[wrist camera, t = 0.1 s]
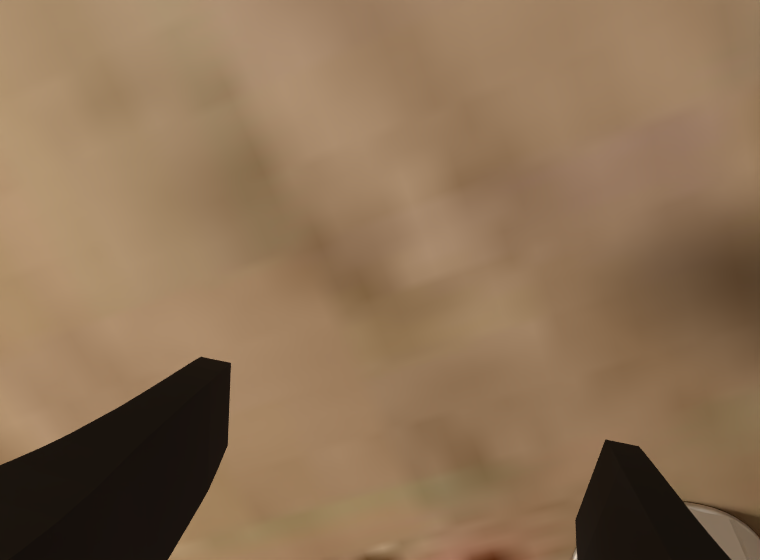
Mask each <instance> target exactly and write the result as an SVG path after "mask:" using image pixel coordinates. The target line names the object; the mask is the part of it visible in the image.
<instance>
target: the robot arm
mask: <svg viewBox="0 0 760 560" xmlns="http://www.w3.org/2000/svg"><path fill="white" fill-rule="evenodd" d="M230 372H231V363H228V362H223V361H219V360H214V359H209V358H204V357H200V358H198V359H196V360H195V361H193V362H191V363H190V364H188V365H187V366H185V367H183V368H182V369H180V370H179V371H177V372H175V373H174V374H172V375H171V376H169V377H167V378H166V379H164V380H163V381H161V382H159V383H158V384H156V385H155V386H153V387H151V388H150V389H148V390H147V391H145V392H143V393H142V394H140V395H138V396H137V397H135V398H133V399H132V400H130V401H128V402H127V403H125V404H123V405H122V406H120V407H118V408H117V409H115V410H113V411H111V412H109V413H107V414H106V415H104V416H102V417H100V418H98V419H96V420H95V421H93V422H91V423H89V424H87V425H85V426H83V427H82V428H80V429H78V430H76V431H74V432H72V433H71V434H69V435H66V436H64V437H62V438H60V439H58V440H56V441H54V442H52V443H50V444H48V445H46V446H44V447H41V448H39V449H37V450H35V451H32V452H30V453H28V454H26V455H23V456H21V457H19V458H16V459H14V460H12V461H9V462H7V463H4V464H2V465H0V560H168V558H169V557H170V555H171V553H172V552H173V550H174V548H175V547H176V545H177V543H178V541H179V540H180V538H181V536H182V535H183V533H184V531H185V530H186V528H187V526H188V525H189V523H190V521H191V519H192V518H193V516H194V514H195V513H196V511H197V509H198V507H199V506H200V504H201V502H202V501H203V499H204V497H205V495H206V494H207V492H208V490H209V488H210V485H211V483H212V481H213V479H214V476H215V474H216V472H217V470H218V467H219V465H220V462H221V460H222V458H223V455H224V453H225V450H226V448H227V446H228V423H229V398H230ZM575 521H576V545H577V560H731V559H730V557H729V556H728V555H727V554H726V553H725V552H724V551H723V549H722V548H721V547H720V546H719V545H718V544H717V542H716V541H715V540H714V539H713V538H712V537H711V535H710V534H709V533H708V532H707V531H706V529H705V528H704V527H703V526H702V525H701V523H700V522H699V521H698V520H697V519H696V517H695V516H694V515H693V514H692V512H691V511H690V510H689V509H688V507H687V506H686V505H685V504H684V502H683V501H682V500H681V499H680V497H679V496H678V495H677V494H676V492H675V491H674V490H673V488H672V487H671V486H670V485H669V483H668V482H667V481H666V480H665V478H664V477H663V476H662V474H661V473H660V472H659V471H658V469H657V468H656V467H655V466H654V464H653V463H652V462H651V460H650V459H649V458H648V457H647V456H646V454H645V453H644V452H643V451H642V450H641V448H640V447H639V446H634V445H629V444H625V443H620V442H615V441H610V440H605V442H604V445H603V448H602V450H601V453H600V456H599V458H598V461H597V464H596V466H595V469H594V472H593V474H592V477H591V480H590V482H589V485H588V488H587V490H586V493H585V496H584V498H583V501H582V504H581V507H580V509H579V512H578V515H577V517H576V520H575Z"/></svg>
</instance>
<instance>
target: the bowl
mask: <svg viewBox="0 0 760 560" xmlns="http://www.w3.org/2000/svg"><path fill="white" fill-rule="evenodd" d="M684 504H685V505H686V506H687V507H688V509H689V510H690V511H691V512H692V514H693V515H694V516H695V517H696V519H697V520H698V521H699V522H700V523H701V525H702V526H703V527H704V528H705V529H706V531H707V532H708V533H709V534H710V535H711V537H712V538H713V539H714V540H715V541H716V542H717V544H718V545H719V546H720V547H721V548H722V549H723V551H724V552H725V553H726V554H727V555H728V556H729V557H730V559H731V560H760V538H759V537H758V536H757V534H756V533H755V532H754V531H753V530H752V529H751V528H750V527H748V526H747V525H746V524H745V523H743V522H742V521H740V520H739V519H737V518H736V517H734V516H732V515H730V514H728V513H726V512H723V511H721V510H718V509H715V508H713V507H709V506H705V505H701V504H695V503H688V502H684ZM572 560H577V547H576V549H575V551H574V554H573V557H572Z"/></svg>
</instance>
